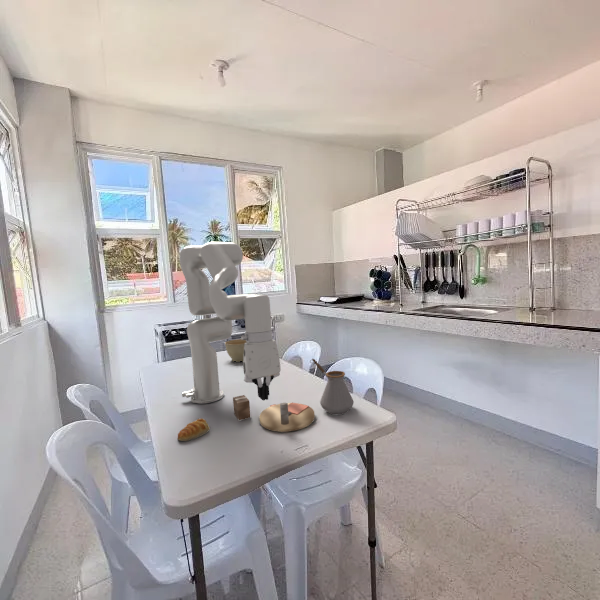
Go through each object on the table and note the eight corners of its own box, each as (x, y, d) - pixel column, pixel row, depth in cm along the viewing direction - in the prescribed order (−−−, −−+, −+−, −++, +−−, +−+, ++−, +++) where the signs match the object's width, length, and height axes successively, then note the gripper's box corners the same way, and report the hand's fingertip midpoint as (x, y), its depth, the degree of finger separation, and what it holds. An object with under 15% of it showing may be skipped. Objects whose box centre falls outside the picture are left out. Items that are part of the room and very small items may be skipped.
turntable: (272, 437, 94) (270, 412, 94) (252, 414, 110) (250, 393, 110) (324, 421, 102) (323, 398, 102) (299, 403, 118) (298, 383, 118)
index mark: (273, 410, 114) (273, 408, 114) (270, 406, 117) (270, 405, 117) (279, 408, 115) (279, 407, 115) (275, 405, 118) (275, 404, 118)
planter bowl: (260, 357, 188) (259, 339, 187) (242, 365, 174) (241, 345, 173) (239, 355, 196) (238, 337, 195) (220, 362, 182) (218, 343, 182)
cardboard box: (238, 420, 107) (237, 402, 107) (234, 414, 113) (232, 396, 112) (250, 417, 109) (249, 399, 109) (245, 411, 114) (244, 394, 114)
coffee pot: (360, 411, 109) (359, 368, 108) (332, 420, 104) (330, 374, 103) (326, 392, 128) (324, 355, 127) (300, 399, 123) (298, 360, 121)
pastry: (187, 445, 93) (185, 432, 93) (172, 440, 97) (171, 428, 97) (211, 431, 101) (210, 419, 101) (197, 426, 105) (196, 415, 105)
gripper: (237, 342, 87) (243, 408, 89) (288, 335, 94) (292, 396, 95) (230, 339, 94) (235, 400, 95) (278, 332, 101) (282, 389, 102)
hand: (263, 398), depth 95 cm, fingers closed
